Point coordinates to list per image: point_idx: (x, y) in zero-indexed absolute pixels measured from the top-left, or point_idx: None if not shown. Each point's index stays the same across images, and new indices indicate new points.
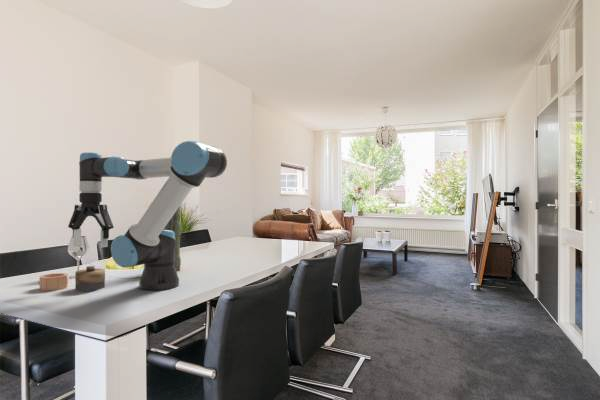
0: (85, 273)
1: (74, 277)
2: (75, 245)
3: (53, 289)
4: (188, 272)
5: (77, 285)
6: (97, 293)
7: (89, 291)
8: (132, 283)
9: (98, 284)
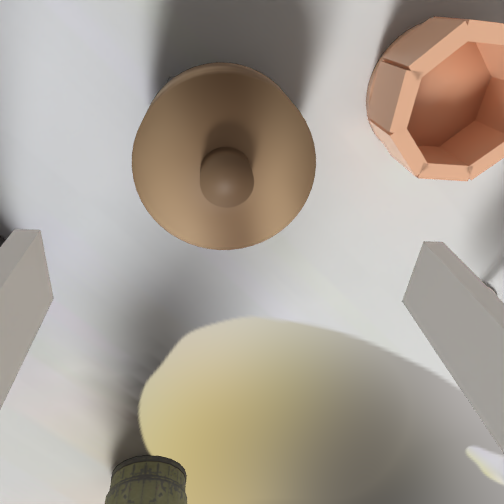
0: (182, 83)
1: None
2: (425, 251)
3: (396, 41)
4: (56, 478)
5: None
6: (88, 54)
7: (170, 77)
8: (109, 283)
9: None
